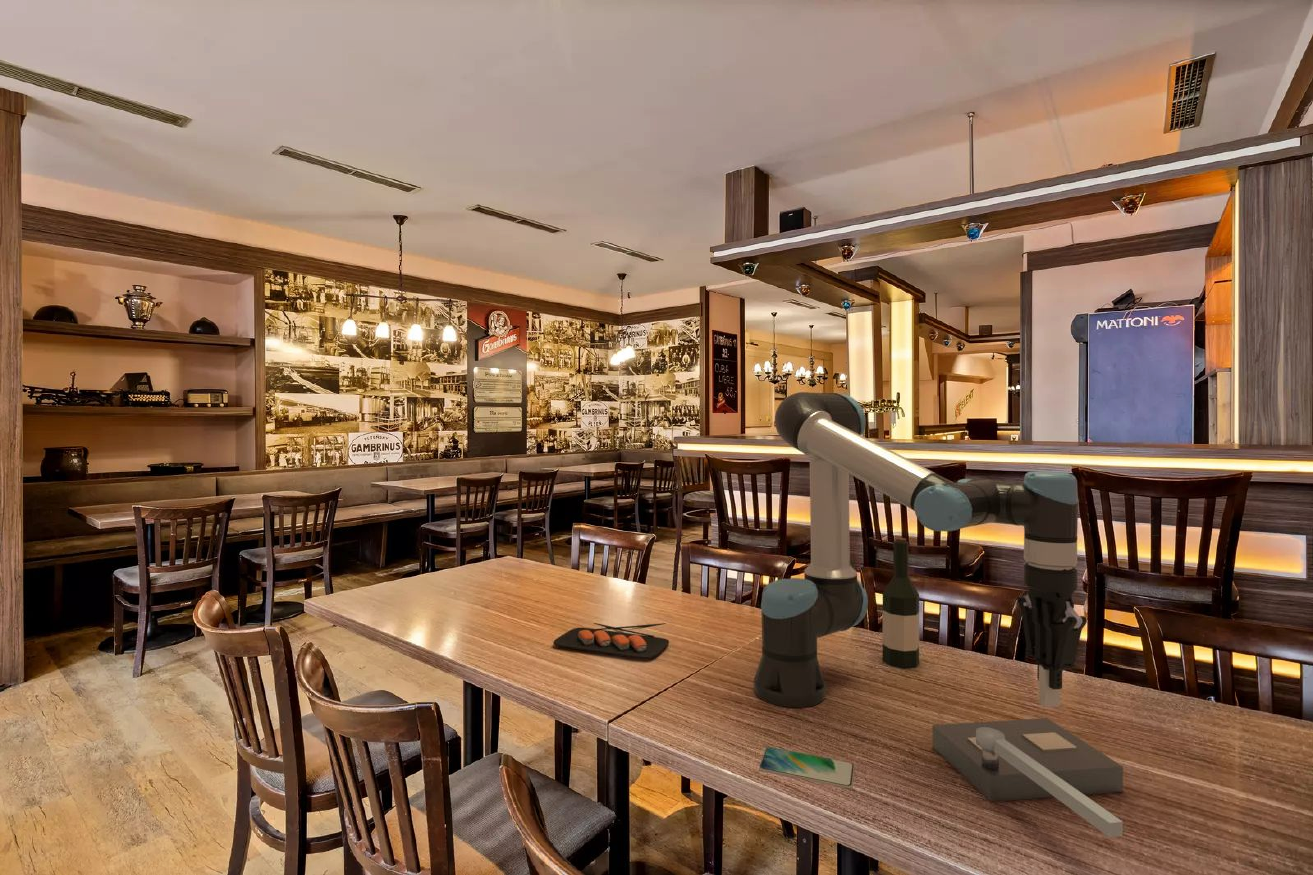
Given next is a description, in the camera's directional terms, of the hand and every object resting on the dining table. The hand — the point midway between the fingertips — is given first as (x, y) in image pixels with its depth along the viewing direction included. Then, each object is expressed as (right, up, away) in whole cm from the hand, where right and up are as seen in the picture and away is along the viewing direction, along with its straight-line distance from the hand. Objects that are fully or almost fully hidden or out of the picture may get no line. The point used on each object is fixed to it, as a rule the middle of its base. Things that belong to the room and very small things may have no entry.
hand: (1049, 704), depth 103 cm
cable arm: (-12, -4, -16) cm, 20 cm away
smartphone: (-41, -11, 0) cm, 42 cm away
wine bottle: (-7, -10, +46) cm, 47 cm away
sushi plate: (-75, -10, +65) cm, 100 cm away
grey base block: (-5, -10, 0) cm, 12 cm away
